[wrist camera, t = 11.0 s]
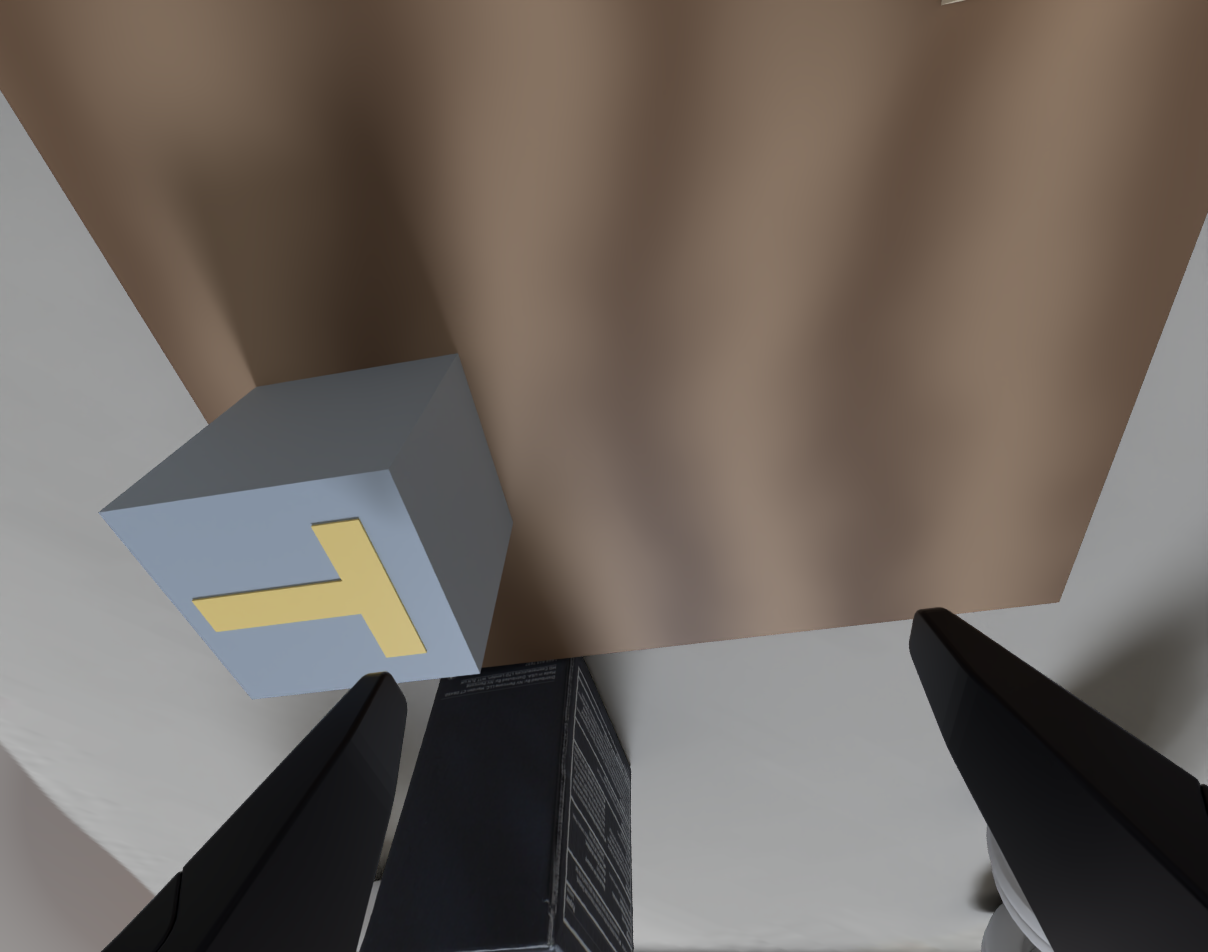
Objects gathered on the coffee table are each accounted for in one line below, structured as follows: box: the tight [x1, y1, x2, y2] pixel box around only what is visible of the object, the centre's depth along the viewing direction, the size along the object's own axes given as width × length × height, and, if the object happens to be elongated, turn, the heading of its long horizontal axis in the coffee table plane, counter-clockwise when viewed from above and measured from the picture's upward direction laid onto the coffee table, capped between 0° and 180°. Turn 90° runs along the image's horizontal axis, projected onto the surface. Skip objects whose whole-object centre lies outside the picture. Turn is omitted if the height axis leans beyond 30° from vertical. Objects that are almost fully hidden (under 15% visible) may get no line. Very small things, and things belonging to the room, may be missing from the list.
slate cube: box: [98, 353, 513, 699], centre depth 15 cm, size 6×6×6 cm
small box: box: [359, 656, 634, 952], centre depth 22 cm, size 11×6×10 cm, turn 15°
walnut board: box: [0, 0, 1208, 668], centre depth 16 cm, size 27×25×1 cm
